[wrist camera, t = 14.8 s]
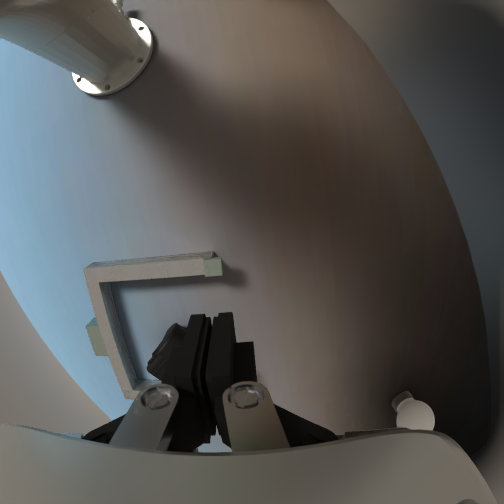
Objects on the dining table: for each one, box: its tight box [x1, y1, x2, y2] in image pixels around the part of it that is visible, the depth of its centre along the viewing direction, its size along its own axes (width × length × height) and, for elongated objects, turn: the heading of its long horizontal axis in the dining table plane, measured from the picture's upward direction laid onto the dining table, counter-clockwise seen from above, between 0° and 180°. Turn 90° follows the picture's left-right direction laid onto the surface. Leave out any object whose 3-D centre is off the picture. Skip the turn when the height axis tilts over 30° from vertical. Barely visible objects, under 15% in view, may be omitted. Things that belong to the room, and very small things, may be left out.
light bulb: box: [392, 391, 435, 431], centre depth 38 cm, size 7×7×11 cm
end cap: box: [147, 323, 186, 381], centre depth 37 cm, size 10×7×7 cm
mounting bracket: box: [84, 251, 223, 400], centre depth 37 cm, size 22×21×4 cm
